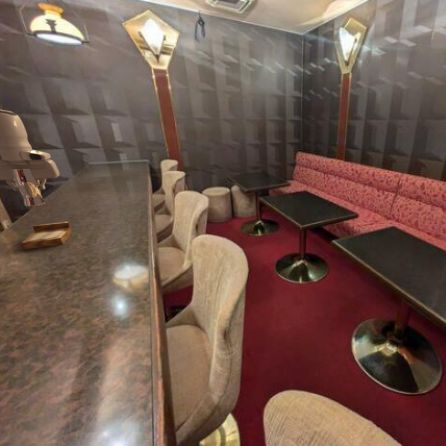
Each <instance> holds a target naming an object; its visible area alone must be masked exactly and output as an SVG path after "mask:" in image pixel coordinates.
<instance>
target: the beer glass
mask: <svg viewBox="0 0 446 446" xmlns="http://www.w3.org/2000/svg"><path fill="white" fill-rule="evenodd" d="M30 169H31V168H29V169H11V172H12V176H13V180H14V182H13V183H14V184H15V185H16V186H17V188H18V189H19V191H18V192H20V194H21V195H22V198H23V204H24V206H25V207H37V206H42V205H45V204H46V200H45V199H44V197H43V195H42V189H41V190H39V187H38V185H41V181H40V180H39V179H35V178H34V177H33V175H32V172H31V170H30Z"/></svg>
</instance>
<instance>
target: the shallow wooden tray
mask: <svg viewBox="0 0 446 446" xmlns="http://www.w3.org/2000/svg"><path fill="white" fill-rule="evenodd" d="M32 229H33V232H32V233H31V234H30V235H29V236H28V237H26V238H25V239H24V240H23V241H22V242H21V245H22V247H23V250H31V249H37V248H45V247H54V246H60V245H64V244H65V243H66V242H67V240H68V238H69V237H70V236H71V234H72V233H73V232H72V229H71V224H70V222H69V221H62V222H54V223H42V224H35V225H32Z"/></svg>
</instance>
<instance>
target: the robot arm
mask: <svg viewBox="0 0 446 446" xmlns="http://www.w3.org/2000/svg"><path fill="white" fill-rule="evenodd" d="M51 158H52V157H51V154H50V153H48V152H44V151H40V150H36V149H33V147H32V145H31V144H30V143H29V140H28V133H27V130H26V127H25V125H24V123H23V121H22V119H21V117H20V116H19V115H18V114H17V113H15V112H14V111H10V110H6V109H0V181H5V182H6V184H7V185H8V186H10V187H12V190H13V191H14V192H20V191H19V189H18V188H17V186H16V184H15V182H14V180H13V176H12V172H11V169H29V168H31V169H30V170H31V172H32V175H33V177H34V178H35V179H39V182H40V185H38V187H39V190H41V191H42V190H46V186H45V184H46V183H47V179H56V178H58V177H59V176H60V175H61V174H60V171H59V168H58V166H57V164H56V162H55V161H54V160H52V159H51Z"/></svg>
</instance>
